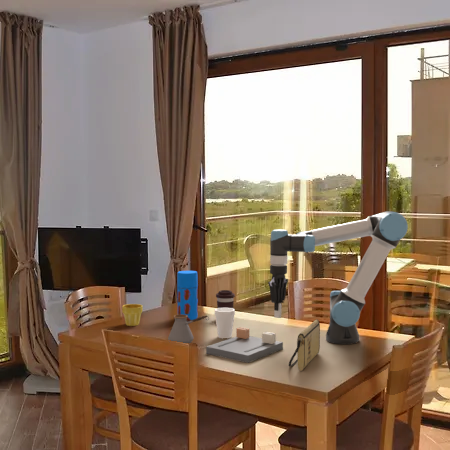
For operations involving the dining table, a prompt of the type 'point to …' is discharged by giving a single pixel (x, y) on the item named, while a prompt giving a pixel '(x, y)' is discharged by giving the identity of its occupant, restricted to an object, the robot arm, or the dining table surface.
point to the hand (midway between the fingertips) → (277, 317)
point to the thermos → (187, 294)
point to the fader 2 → (269, 337)
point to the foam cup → (224, 321)
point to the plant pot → (132, 314)
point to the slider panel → (243, 348)
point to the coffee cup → (225, 299)
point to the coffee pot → (182, 329)
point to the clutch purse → (307, 345)
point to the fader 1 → (242, 333)
